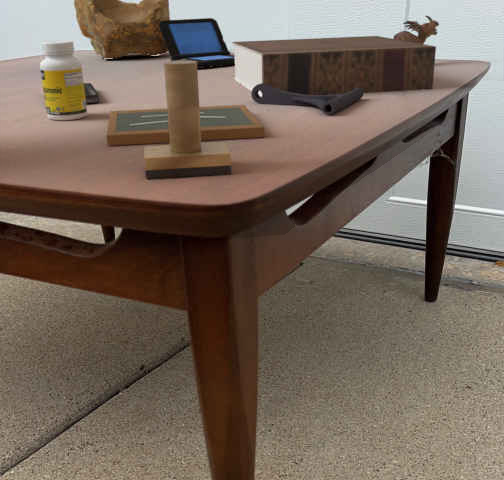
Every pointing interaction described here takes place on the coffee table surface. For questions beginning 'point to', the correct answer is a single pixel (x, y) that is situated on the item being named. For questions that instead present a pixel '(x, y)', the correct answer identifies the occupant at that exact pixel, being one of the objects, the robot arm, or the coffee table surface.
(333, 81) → the book
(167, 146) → the wooden stamp
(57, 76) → the supplement bottle
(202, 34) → the game console
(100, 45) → the rough brown rock
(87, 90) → the phone
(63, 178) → the coffee table surface
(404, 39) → the dragon figurine
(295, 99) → the bracket
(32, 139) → the coffee table surface
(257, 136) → the board
